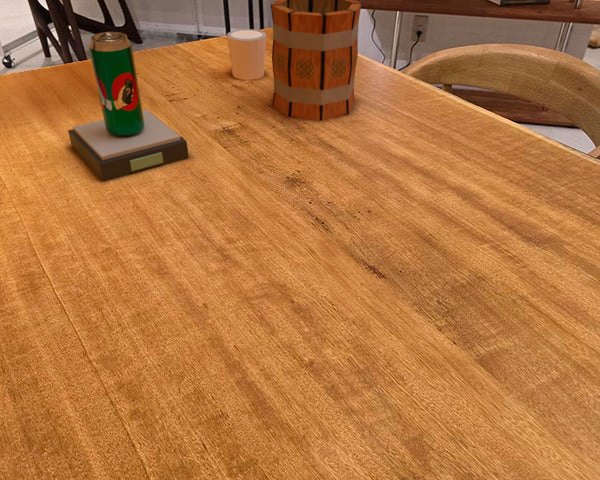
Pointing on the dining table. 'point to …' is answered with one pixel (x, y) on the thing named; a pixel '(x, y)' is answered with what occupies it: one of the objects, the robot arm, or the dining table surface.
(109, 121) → the soda can
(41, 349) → the dining table surface
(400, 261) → the dining table surface
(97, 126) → the scale
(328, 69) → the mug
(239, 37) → the white cup
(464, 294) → the dining table surface
